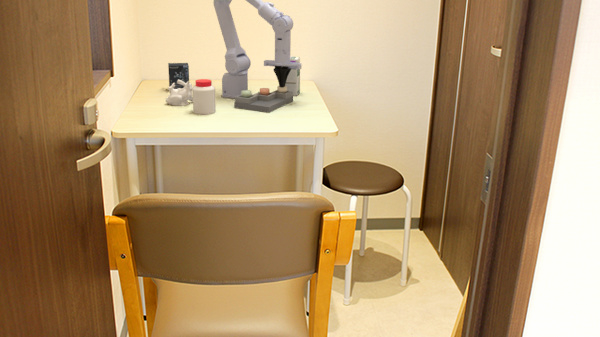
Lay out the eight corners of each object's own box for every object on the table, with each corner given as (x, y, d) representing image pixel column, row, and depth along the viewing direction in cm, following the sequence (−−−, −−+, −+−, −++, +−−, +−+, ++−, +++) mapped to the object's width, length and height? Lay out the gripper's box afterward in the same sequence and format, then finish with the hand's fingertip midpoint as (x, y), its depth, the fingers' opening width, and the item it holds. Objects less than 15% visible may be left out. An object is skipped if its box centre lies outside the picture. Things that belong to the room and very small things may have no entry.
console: (234, 107, 216) (234, 97, 215) (260, 96, 234) (260, 86, 232) (269, 112, 211) (269, 101, 210) (293, 100, 228) (293, 90, 227)
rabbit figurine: (198, 101, 224) (197, 75, 221) (199, 106, 217) (198, 80, 214) (165, 102, 222) (164, 76, 218) (165, 108, 215) (163, 81, 211)
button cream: (275, 92, 224) (275, 87, 224) (279, 90, 227) (279, 85, 227) (284, 93, 223) (284, 88, 222) (288, 91, 226) (288, 86, 225)
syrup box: (297, 96, 236) (297, 59, 231) (282, 95, 237) (282, 58, 232) (299, 93, 241) (300, 56, 236) (285, 92, 242) (286, 55, 237)
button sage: (239, 97, 216) (239, 91, 215) (244, 95, 219) (244, 89, 219) (248, 98, 215) (248, 92, 214) (253, 96, 218) (253, 90, 217)
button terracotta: (257, 94, 220) (257, 89, 220) (262, 92, 223) (262, 87, 223) (266, 95, 219) (266, 90, 218) (271, 93, 222) (271, 88, 221)
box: (169, 92, 238) (168, 65, 234) (169, 89, 243) (167, 62, 239) (189, 91, 240) (188, 65, 236) (189, 88, 245) (188, 62, 241)
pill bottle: (197, 115, 205) (196, 83, 202) (190, 110, 212) (189, 79, 208) (218, 113, 209) (218, 82, 205) (211, 108, 215) (210, 77, 212)
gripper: (259, 49, 219) (259, 86, 224) (296, 53, 214) (295, 90, 218) (268, 47, 225) (268, 83, 230) (304, 50, 220) (303, 87, 224)
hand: (282, 86), depth 224 cm, fingers closed
